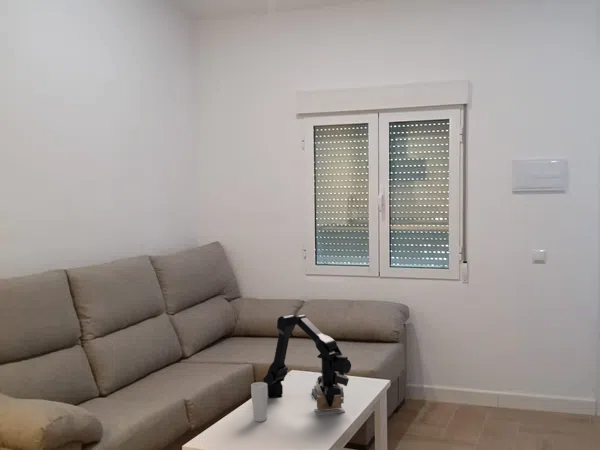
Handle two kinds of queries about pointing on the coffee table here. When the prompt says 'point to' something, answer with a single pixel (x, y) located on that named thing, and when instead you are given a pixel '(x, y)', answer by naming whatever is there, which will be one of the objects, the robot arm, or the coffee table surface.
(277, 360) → the robot arm
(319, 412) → the pad
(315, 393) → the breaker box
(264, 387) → the drinking glass
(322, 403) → the brown rectangular block
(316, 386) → the toggle
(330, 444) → the coffee table surface
